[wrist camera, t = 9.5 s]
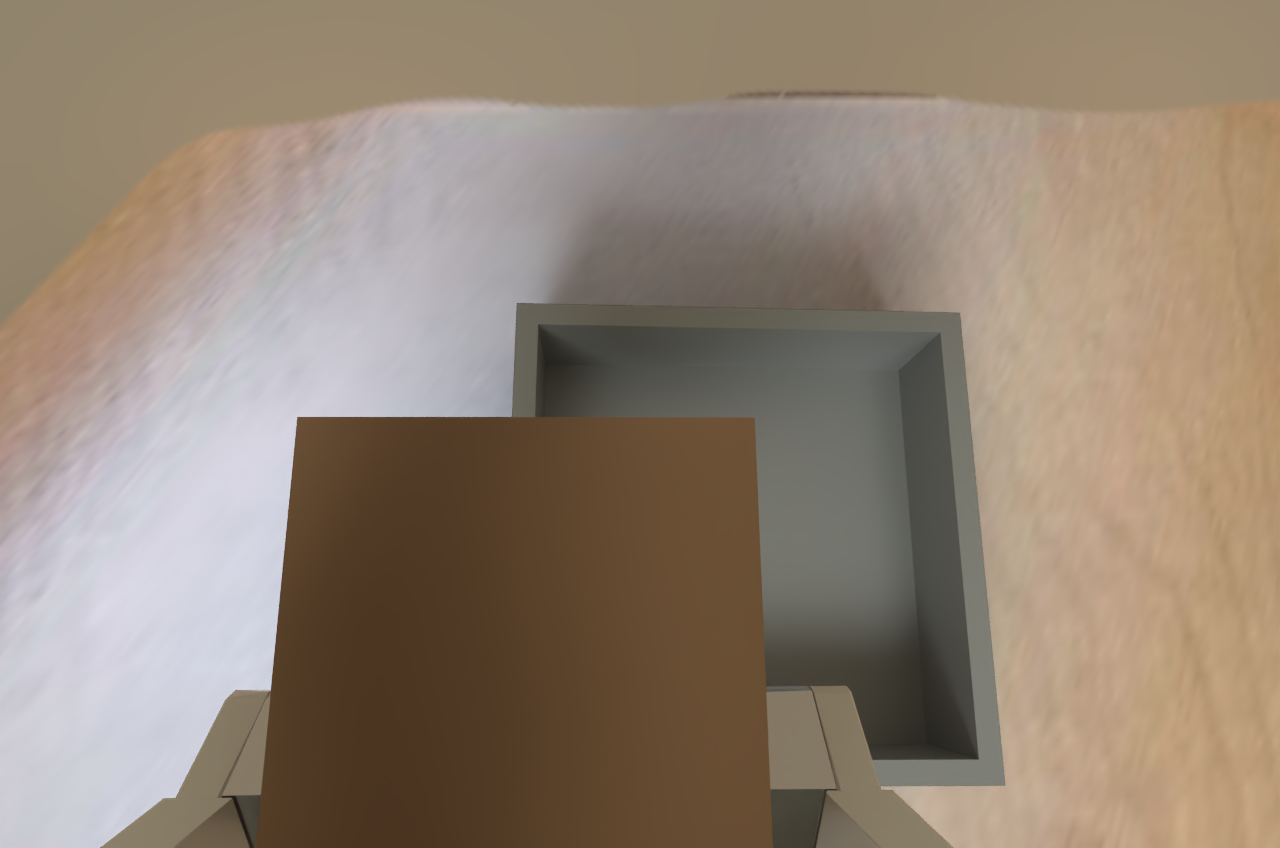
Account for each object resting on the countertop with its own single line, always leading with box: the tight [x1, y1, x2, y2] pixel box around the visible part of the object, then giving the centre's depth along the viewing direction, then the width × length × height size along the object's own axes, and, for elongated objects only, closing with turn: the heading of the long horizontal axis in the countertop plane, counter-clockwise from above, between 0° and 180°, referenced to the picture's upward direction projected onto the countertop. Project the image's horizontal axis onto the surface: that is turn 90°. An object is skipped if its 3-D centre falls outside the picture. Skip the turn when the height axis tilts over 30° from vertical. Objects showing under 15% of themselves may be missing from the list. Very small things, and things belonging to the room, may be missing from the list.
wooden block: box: [256, 417, 773, 848], centre depth 15 cm, size 5×5×12 cm
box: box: [512, 303, 1005, 786], centre depth 28 cm, size 14×14×5 cm
